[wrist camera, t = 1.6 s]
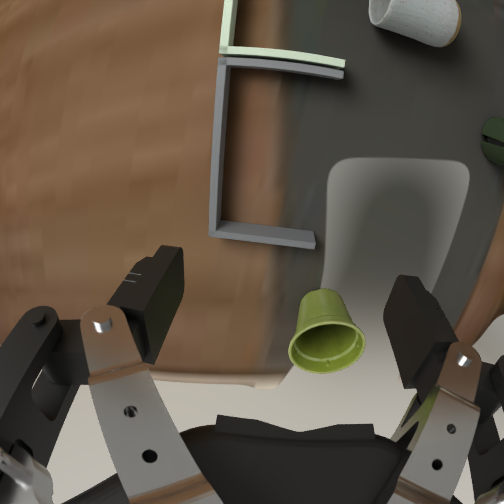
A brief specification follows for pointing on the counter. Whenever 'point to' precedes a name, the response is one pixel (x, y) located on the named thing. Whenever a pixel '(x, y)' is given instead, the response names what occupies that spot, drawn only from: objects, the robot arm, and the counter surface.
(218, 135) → the corral charcoal
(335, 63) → the corral green
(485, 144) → the character mug
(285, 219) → the counter surface
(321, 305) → the plant pot
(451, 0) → the ceramic mug
